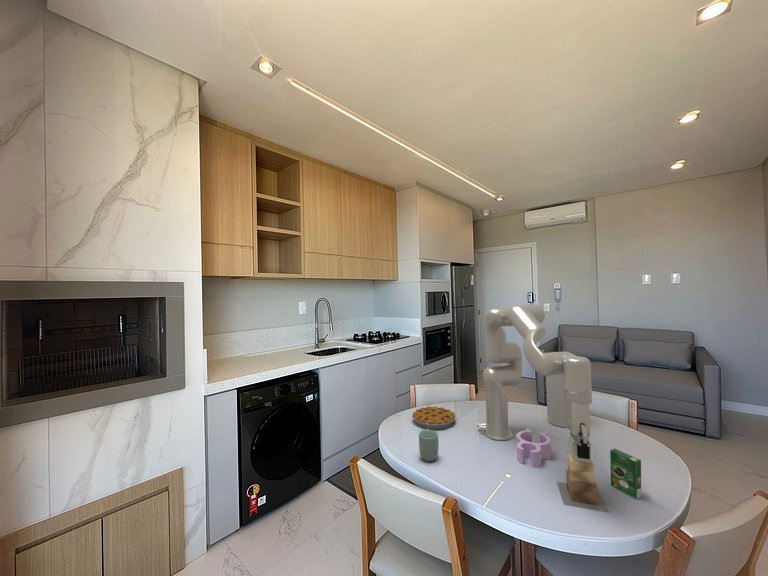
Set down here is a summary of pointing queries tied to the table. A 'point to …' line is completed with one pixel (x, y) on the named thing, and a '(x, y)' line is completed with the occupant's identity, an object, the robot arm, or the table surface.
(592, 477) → the brick oak
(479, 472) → the table surface
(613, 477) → the coffee box
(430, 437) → the cup
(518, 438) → the clip
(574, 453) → the brick sage
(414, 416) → the pie
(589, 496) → the brick walnut
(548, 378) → the cylinder vase
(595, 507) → the base tile
